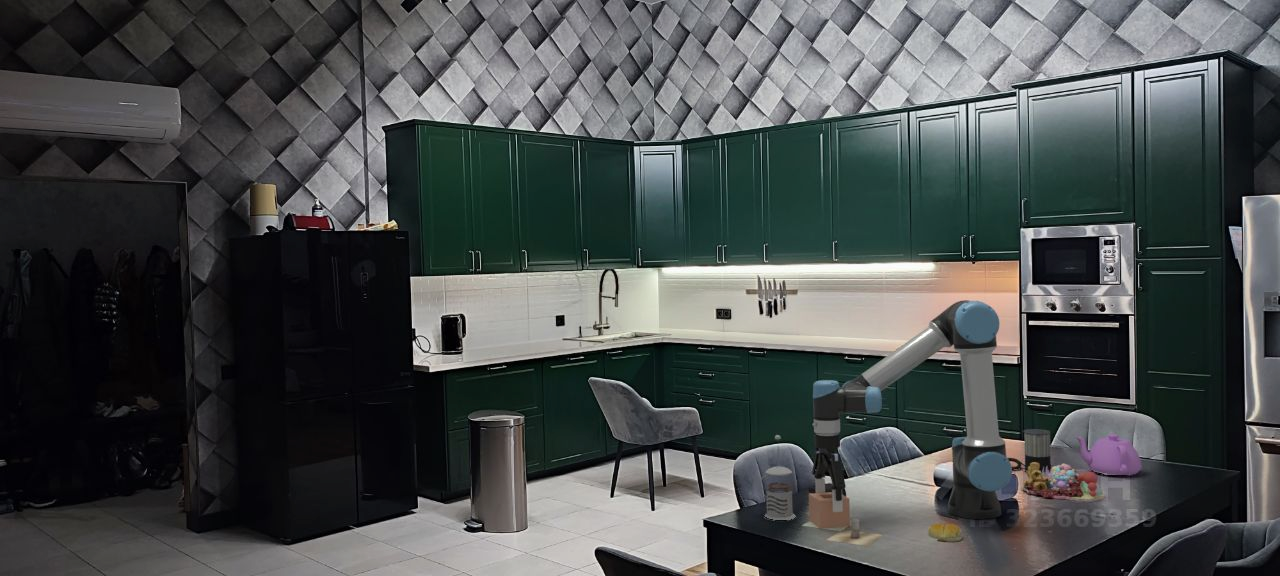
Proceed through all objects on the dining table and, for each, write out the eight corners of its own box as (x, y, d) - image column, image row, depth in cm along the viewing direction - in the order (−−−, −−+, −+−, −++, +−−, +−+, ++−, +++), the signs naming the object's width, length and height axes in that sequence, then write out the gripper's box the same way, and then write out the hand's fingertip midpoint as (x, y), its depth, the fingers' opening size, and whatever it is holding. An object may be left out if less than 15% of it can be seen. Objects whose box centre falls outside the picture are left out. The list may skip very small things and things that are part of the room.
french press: (788, 522, 273) (786, 438, 273) (753, 517, 279) (750, 436, 279) (801, 514, 281) (799, 433, 281) (766, 510, 287) (764, 431, 287)
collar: (838, 518, 273) (837, 491, 273) (850, 526, 264) (849, 498, 264) (809, 520, 272) (808, 493, 272) (820, 528, 263) (819, 500, 263)
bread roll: (932, 532, 258) (932, 518, 258) (965, 536, 253) (964, 522, 253) (924, 540, 251) (924, 525, 251) (958, 544, 246) (957, 529, 246)
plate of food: (1024, 499, 293) (1023, 470, 293) (1018, 483, 315) (1018, 456, 315) (1110, 503, 285) (1110, 473, 285) (1099, 486, 307) (1098, 459, 307)
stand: (884, 537, 254) (883, 517, 254) (867, 548, 244) (867, 527, 244) (843, 531, 261) (842, 511, 261) (826, 542, 251) (825, 521, 251)
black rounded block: (821, 510, 285) (821, 489, 285) (807, 506, 292) (807, 484, 292) (846, 506, 290) (846, 485, 290) (832, 501, 296) (832, 480, 296)
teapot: (1065, 467, 338) (1064, 429, 338) (1127, 467, 335) (1126, 429, 335) (1085, 480, 316) (1084, 440, 316) (1152, 480, 313) (1151, 440, 313)
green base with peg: (856, 523, 269) (856, 500, 269) (840, 533, 260) (839, 509, 259) (819, 518, 276) (818, 495, 276) (801, 527, 267) (801, 504, 266)
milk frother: (1056, 474, 326) (1055, 432, 326) (1011, 475, 326) (1010, 434, 326) (1040, 466, 340) (1039, 426, 340) (997, 467, 341) (996, 427, 340)
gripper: (800, 427, 279) (802, 497, 280) (830, 441, 255) (832, 517, 255) (823, 426, 281) (825, 495, 281) (856, 439, 256) (858, 515, 256)
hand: (829, 506), depth 268 cm, fingers open, 13 cm apart
